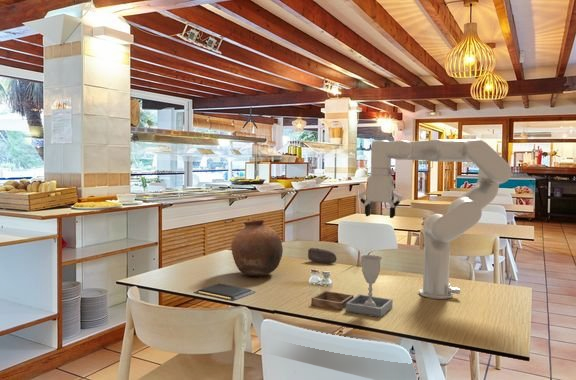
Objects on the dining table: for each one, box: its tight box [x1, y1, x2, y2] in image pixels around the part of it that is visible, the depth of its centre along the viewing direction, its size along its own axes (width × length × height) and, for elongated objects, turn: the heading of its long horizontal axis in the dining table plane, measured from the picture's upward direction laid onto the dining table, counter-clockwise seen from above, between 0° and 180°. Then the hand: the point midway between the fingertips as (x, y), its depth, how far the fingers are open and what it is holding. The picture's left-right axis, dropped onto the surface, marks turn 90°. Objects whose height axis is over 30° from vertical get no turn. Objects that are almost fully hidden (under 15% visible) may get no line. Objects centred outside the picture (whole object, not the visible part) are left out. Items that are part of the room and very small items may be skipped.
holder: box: [311, 290, 355, 311], centre depth 175 cm, size 12×12×2 cm
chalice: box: [360, 254, 382, 308], centre depth 168 cm, size 7×7×18 cm
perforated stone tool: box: [307, 247, 338, 264], centre depth 243 cm, size 15×5×7 cm, turn 61°
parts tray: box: [345, 294, 394, 318], centre depth 168 cm, size 13×13×3 cm
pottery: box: [230, 218, 284, 277], centre depth 216 cm, size 23×23×25 cm
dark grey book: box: [193, 283, 256, 302], centre depth 188 cm, size 20×2×15 cm
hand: (379, 216), depth 186 cm, fingers open, 9 cm apart
